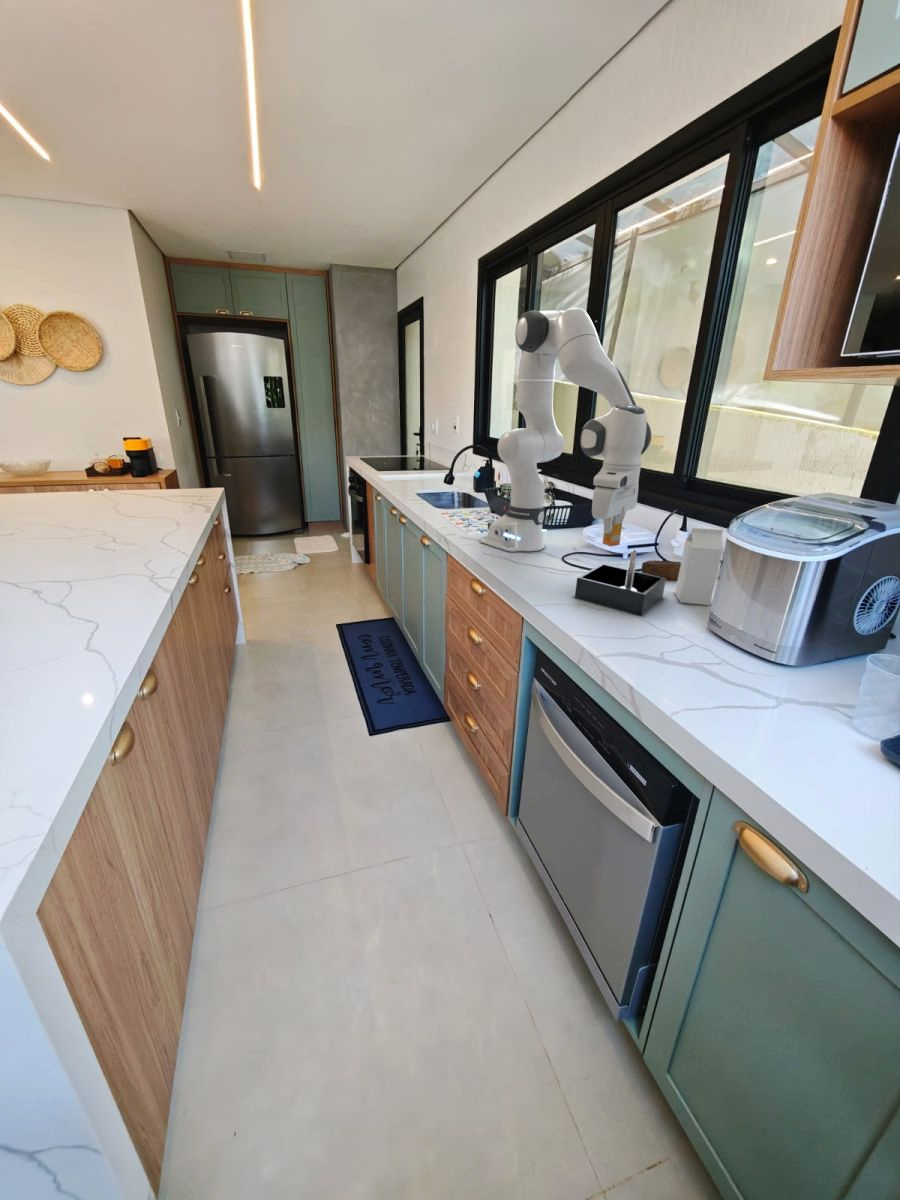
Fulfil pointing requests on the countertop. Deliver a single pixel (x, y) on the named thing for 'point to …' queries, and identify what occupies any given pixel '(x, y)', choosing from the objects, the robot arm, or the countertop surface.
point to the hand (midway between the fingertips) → (612, 530)
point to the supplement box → (614, 531)
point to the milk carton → (699, 566)
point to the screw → (630, 572)
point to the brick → (662, 569)
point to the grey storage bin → (620, 589)
